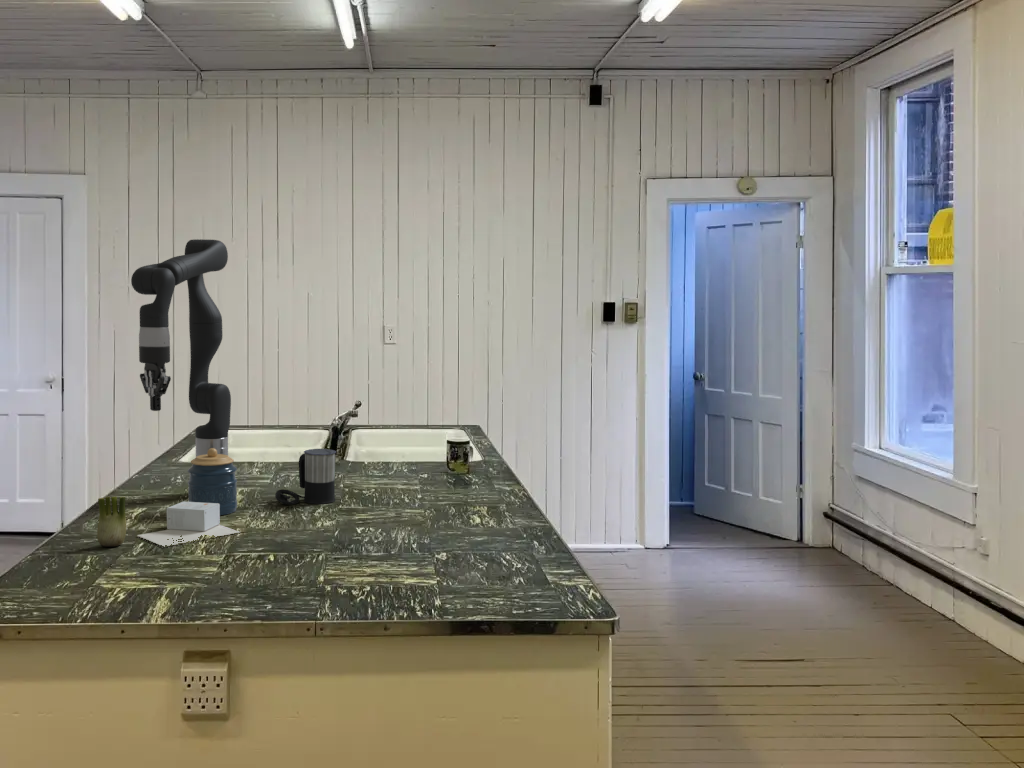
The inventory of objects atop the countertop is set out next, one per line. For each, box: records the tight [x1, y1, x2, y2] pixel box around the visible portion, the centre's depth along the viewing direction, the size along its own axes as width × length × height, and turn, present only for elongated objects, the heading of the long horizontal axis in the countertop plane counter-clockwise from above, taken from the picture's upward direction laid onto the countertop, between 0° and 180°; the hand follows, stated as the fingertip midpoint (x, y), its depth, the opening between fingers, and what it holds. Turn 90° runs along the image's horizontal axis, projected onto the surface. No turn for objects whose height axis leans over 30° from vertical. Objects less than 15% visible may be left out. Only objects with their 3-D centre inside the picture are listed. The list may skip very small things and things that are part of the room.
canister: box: [187, 448, 238, 516], centre depth 254 cm, size 13×13×18 cm
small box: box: [166, 500, 221, 531], centre depth 236 cm, size 8×6×10 cm
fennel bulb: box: [96, 495, 127, 548], centre depth 218 cm, size 6×5×12 cm
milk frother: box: [274, 448, 337, 505], centre depth 268 cm, size 14×16×15 cm
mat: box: [136, 524, 241, 547], centre depth 230 cm, size 20×14×1 cm
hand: (155, 410), depth 243 cm, fingers closed
